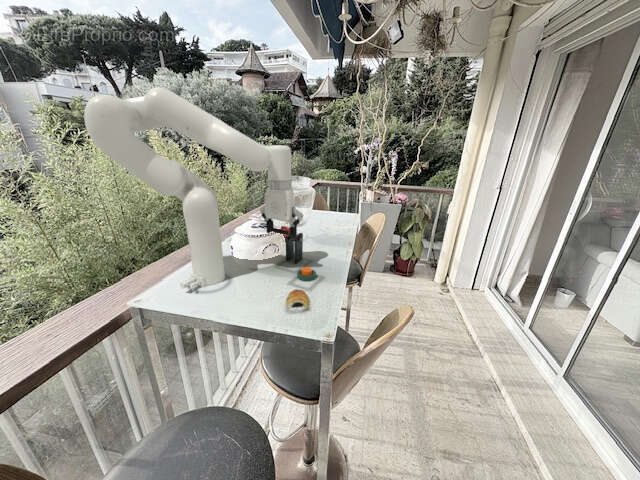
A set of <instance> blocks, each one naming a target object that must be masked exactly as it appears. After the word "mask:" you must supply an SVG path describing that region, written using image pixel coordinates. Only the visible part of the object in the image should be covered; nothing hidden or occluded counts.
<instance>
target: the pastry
mask: <svg viewBox="0 0 640 480" xmlns="http://www.w3.org/2000/svg"><path fill="white" fill-rule="evenodd" d="M309 306H310V298H309V296H308V295H307V293H306V292H305V290H302V289H297V288H296V289H293V290H292V291H290V292H289V293H288V295H287V297H286V308H288V309H293V308H298V307H299V308H300V307H302V308H304V309H303V311H306V310H307V309H308V308H309Z"/></svg>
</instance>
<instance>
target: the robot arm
mask: <svg viewBox="0 0 640 480" xmlns="http://www.w3.org/2000/svg"><path fill="white" fill-rule="evenodd" d="M83 114H84V115H83V119H84V125H85V128H86V131H87V133H88V136H89V137H90V139H91V141H92V142H93V143H94V144H95V145H96V147H97V148H98V149H99V150H100V151H101V152H102V153H104V154H105V155H106V156H107V157H108V158H110V159H111V160H112V161H114V162H115V163H117V164H118V165H119V166H121V167H122V168H123V169H125V170H126V171H128V172H129V173H130V174H132V175H133V176H135V177H136V178H137V179H139V180H140V181H141V182H143V183H144V184H145V185H147V186H149V187H150V188H151V189H153V190H154V191H155V192H157V193H158V194H160V195H161V196H167V197H172V196H173V197H176V199H178V200H179V201H181V202H182V214H183V219H184V223H185V229H186V235H187V241H188V247H189V255H190V260H191V268H192V273H190V274H189V275H190V277H188V279H187V280H185V281H182V282H180V283H179V286H180V288H181V289H185V288H188V287H189V288H190V289H192V290H193V291H196V292H198V290H197V289H194V288H195V287H197V286H198V287H200V288H205V287H209V286H214V285H218V284H220V283H222V282H224V280H225V278H226V272H225V263H224V253H223V243H222V234H221V224H220V214H219V213H220V212H219V202H218V201H219V200H218V196H217V193H216V191H215V190H214V188H212V187H211V186H210V185H209V184H208V183H206V182H205V181H204V180H203V179H202V178H200V177H199V176H198V175H196V173H194V172H192V171H191V169H189V168H188V167H187V166H185V165H184V164H182V163H181V162H179V161H177V160H173V159H167V158H165V157H164V156H163V155H161V154H159V153H158V152H157V151H155V150H154V149H153V148H152V147H151V146H150V145H148V143H145V142H144V141H143V140H141V139H140V138H139V137H138V136H136V135H135V133H140V132H145V131H149V130H155V129H160V128H165V127H168V128H169V129H172V130H173V131H175V132H177V133H179V134H180V135H183V136H185V137H187V138H189V139H190V140H192V141H194V142H196V143H198V144H200V145H202V146H203V147H205V148H207V149H210V150H212V151H214V152H217V153H219V154H221V155H223V156H225V157H227V158H228V159H230V160H232V161H234V162H236V163H238V164H240V165H241V166H243V167H245V168H247V169H249V170H251V171H252V172H257V173H258V172H259V173H260V172H263V171H266V170H267V180H266V181H265V183H266V185H268V188H266V189H265V196H264V205H263V206H261V207H260V208H259V211H260V214H261V217H262V218H263V219H264V220H263V221H264V222H265V228H266V233H267V234H270V233H272V232H273V228H275V227H274V220H276V221H281V222H288V224H289V227H288V228H289V231H290V238H293V237H295V236H296V235H297V234H298V233H297V232H298V230H297V229H298V228H297V227H298V225H299V224H300V223H301V222H302V220H303V218H304V214H303V213H302V212H301V211H300V210H298V209H296V198H295V193H294V189H292V187H293V186H292V184H293V183H292V149H291V147H290V146H288V145H283V144H271V145H263V144H261V143H259V142H257V141H256V140H254V139H252V138H251V137H249V136H247V135H245V134H244V133H242V132H240V131H239V130H237V129H235V128H233V127H231V126H230V125H229V124H227V123H225V122H224V121H223V120H222V119H219V118H217V117H216V116H214V115H212V114H211V113H209V112H207V111H206V110H204V109H203V108H200V107H199V106H197V105H196V104H194V103H192V102H190V101H189V100H187V99H186V98H184V97H182V96H180V95H179V94H177V93H175V92H174V91H172V90H170V89H167V88H165V87H163V86H156V87H152V88H150V89H148V90H147V92H146V93H145V95H142V96H137V97H136V96H135V97H129V98H120V97H118V96H115V95H113V94H112V95H111V94H97V95H94V96H93V97H91V98H90V99H89V100H88V101H87V103H86V105H85V108H84V113H83Z"/></svg>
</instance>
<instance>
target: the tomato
mask: <svg viewBox="0 0 640 480" xmlns="http://www.w3.org/2000/svg"><path fill="white" fill-rule="evenodd" d="M280 227H281V230H286V231H289V228H290V227H288V226H287V225H286V226H284V225H282V226H280ZM289 232H290V231H289ZM283 236H284V238H285V241H284V242H286V236H285V235H283Z"/></svg>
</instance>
